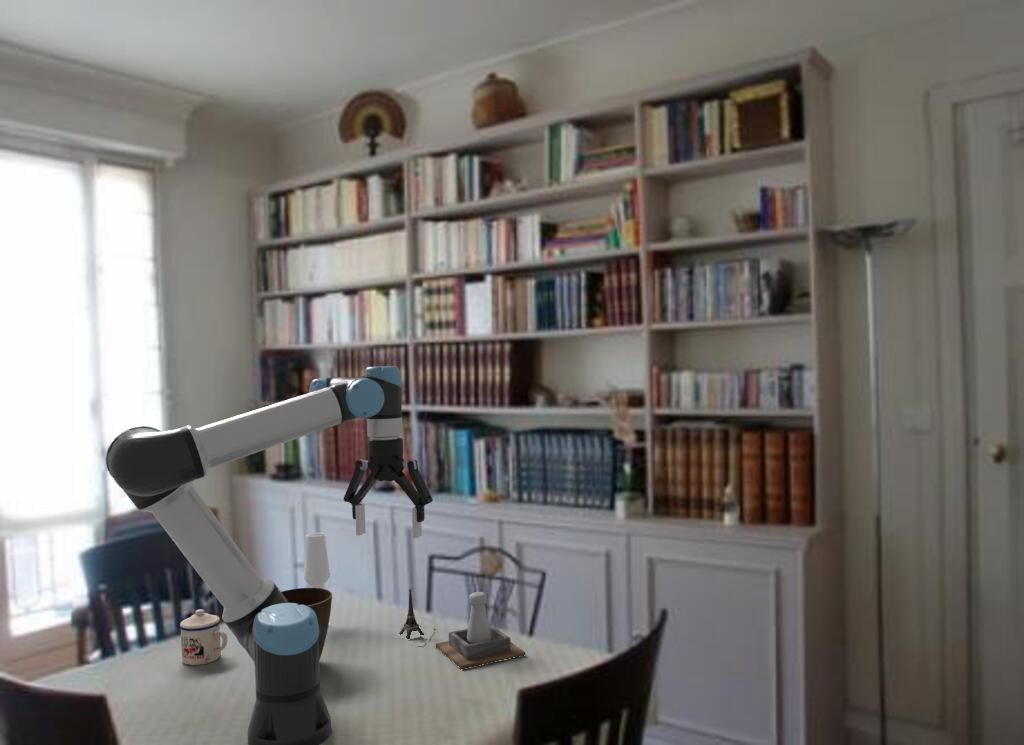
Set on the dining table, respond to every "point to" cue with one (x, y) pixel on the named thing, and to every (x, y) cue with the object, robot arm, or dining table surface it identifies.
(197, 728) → the dining table surface
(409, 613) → the eiffel tower figurine
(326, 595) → the plant pot
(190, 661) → the teacup with lid
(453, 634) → the socket stand
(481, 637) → the salt shaker
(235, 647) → the dining table surface
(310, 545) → the champagne flute
